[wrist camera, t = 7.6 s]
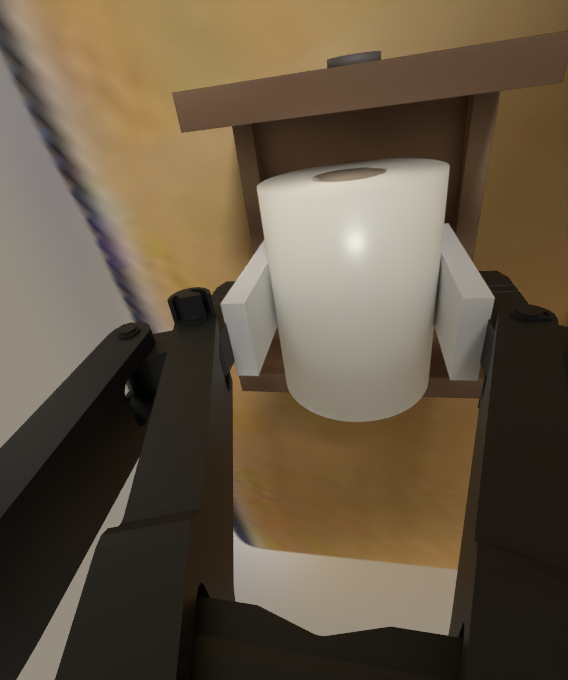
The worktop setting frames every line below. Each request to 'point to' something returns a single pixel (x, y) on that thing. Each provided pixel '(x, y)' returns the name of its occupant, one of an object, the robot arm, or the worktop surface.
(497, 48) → the holder
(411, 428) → the worktop surface
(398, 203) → the roll
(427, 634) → the robot arm
